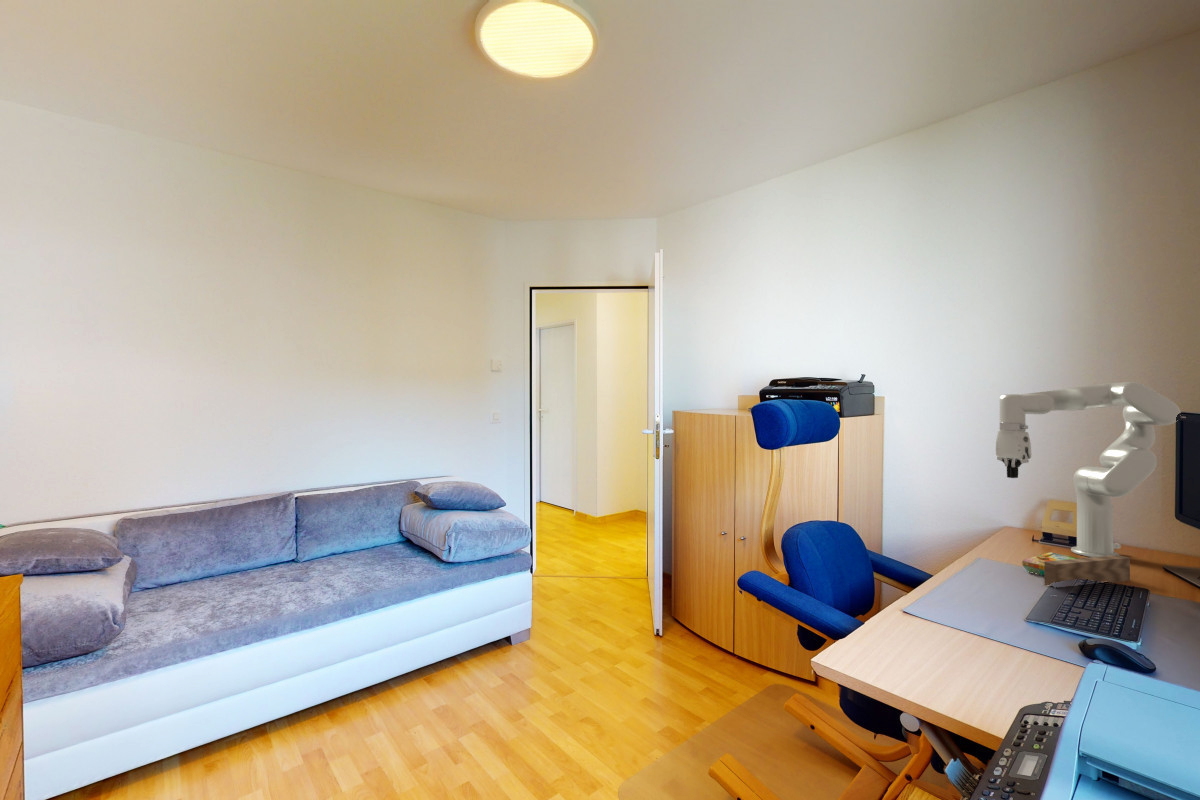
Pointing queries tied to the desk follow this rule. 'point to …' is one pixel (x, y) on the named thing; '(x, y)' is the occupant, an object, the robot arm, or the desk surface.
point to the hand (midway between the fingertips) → (1012, 477)
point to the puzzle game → (1042, 562)
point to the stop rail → (1088, 569)
